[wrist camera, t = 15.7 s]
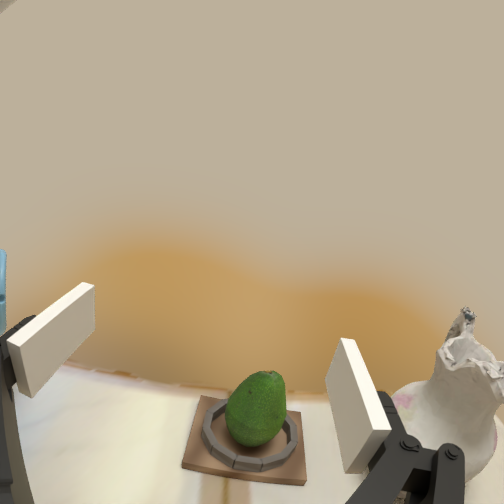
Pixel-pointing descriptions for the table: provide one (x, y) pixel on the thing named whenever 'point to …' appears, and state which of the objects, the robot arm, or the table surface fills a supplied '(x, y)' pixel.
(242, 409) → the avocado
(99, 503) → the table surface
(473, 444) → the ceramic pitcher
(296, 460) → the ring stand
